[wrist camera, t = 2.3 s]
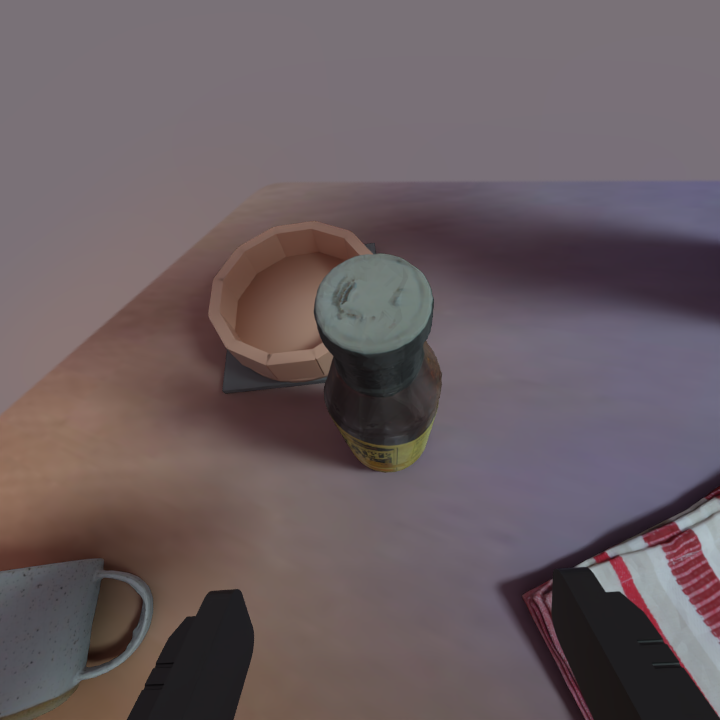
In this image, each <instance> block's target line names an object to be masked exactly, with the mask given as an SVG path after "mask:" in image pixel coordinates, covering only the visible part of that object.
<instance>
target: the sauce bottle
mask: <svg viewBox="0 0 720 720" xmlns="http://www.w3.org/2000/svg"><path fill="white" fill-rule="evenodd" d="M433 307H434V299H433V296H432V290H431V287H430V285H429V282H428V281H427V279H426V278H425V276H424V275H423V273H422V272H421V271H420V270H418V269H417V268H416V267H414V266H413V265H411V264H410V263H408V262H407V261H405V260H404V259H402V258H400V257H397V256H393V255H389V254H382V253H379V254H374V255H371V254H366V255H359V256H355V257H353V258H350V259H348V260H346V261H344V262H342V263H341V264H339V265H337V266H336V267H334V268H333V269H332V270H331V271H330V272H329V273H328V274H327V275H326V276H325V277H324V278H323V280H322V282H321V283H320V285H319V287H318V290H317V294H316V298H315V304H314V317H315V321H316V324H317V329H318V332H319V335H320V338H321V339H322V342H323V344H324V346H325V347H326V348H327V349H328V351H329V352H330V353H331V354H332V355H333V359H332V363H331V366H330V370H329V373H328V376H327V379H326V382H325V386H324V399H325V404H326V407H327V409H328V412H329V414H330V415H331V417H332V419H333V421H334V423H335V424H336V426H337V428H338V429H339V431H340V432H341V434H342V436H343V438H344V439H345V441H346V443H347V444H348V445H349V447H350V448H351V450H352V452H353V453H354V455H355V456H356V457H357V459H358V460H359V461H360V462H361V463H363V464H364V465H365V466H367V467H369V468H370V469H373V470H376V471H380V472H396V471H400V470H403V469H405V468H407V467H408V466H410V465H411V464H413V463H414V462H415V461H416V460H417V459H418V458H419V457H420V456H421V454H422V453H423V451H424V449H425V446H426V443H427V440H428V437H429V434H430V431H431V428H432V425H433V422H434V418H435V415H436V412H437V408H438V402H439V398H440V392H441V385H442V382H441V378H442V373H441V371H440V366H439V363H438V361H437V358H436V356H435V354H434V352H433V350H432V349H431V347H430V346H429V345H428V343H427V342H426V340H427V338H428V335H429V333H430V330H431V326H432V318H433Z"/></svg>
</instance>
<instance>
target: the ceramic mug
mask: <svg viewBox="0 0 720 720" xmlns="http://www.w3.org/2000/svg"><path fill="white" fill-rule="evenodd" d="M103 565H104V560H103V559H102V558H97V559H85V560H77V561H68V562H62V563H53V564H47V565H40V566H33V567H27V568H20V569H13V570H7V571H0V720H31V719H34V718H36V717H38V716H40V715H43V714H45V713H47V712H49V711H51V710H53V709H55V708H56V707H58V706H59V705H61V704H62V703H63V702H65V701H66V700H67V699H68V698H69V697H70V696H71V695H72V694H73V693H74V691H75V690H76V689H77V687H78V685H79V683H80V681H81V680H85V679H89V678H94V677H97V676H99V675H101V674H103V673H106V672H108V671H110V670H112V669H113V668H115V667H117V666H118V665H120V664H121V663H123V662H124V661H125V660H126V659H127V658H128V657H130V656H131V654H132V653H133V652H134V651H135V650H136V649H137V648H138V646H139V645H140V644H141V642H142V640H143V639H144V637H145V635H146V633H147V631H148V629H149V626H150V623H151V619H152V614H153V597H152V594H151V590H150V588H149V586H148V585H147V584H146V583H145V582H144V581H143V580H142V579H141V578H139V577H137V576H136V575H133V574H131V573H127V572H121V571H114V570H109V571H106V570H103ZM102 578H112V579H117V580H121V581H124V582H126V583H128V584H130V585H131V586H132V587H133V588H134V589H135V590H136V592H137V593H139V594H140V595H141V597H142V599H143V606H142V611H141V616H140V620H139V623H138V625H137V627H136V628H135V629H134V630H133V637H132V640H131V641H130V643H129V644H128V646H127V648H126V651H124V652H123V653H122V654H121V655H120V656H118V657H117V658H114V659H113V660H111V661H109V662H107V663H104V664H101V665H99V666H94V667H86V662H87V655H88V650H89V645H90V637H91V629H92V623H93V618H94V614H95V609H96V605H97V599H98V594H99V591H100V582H101V579H102Z"/></svg>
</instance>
